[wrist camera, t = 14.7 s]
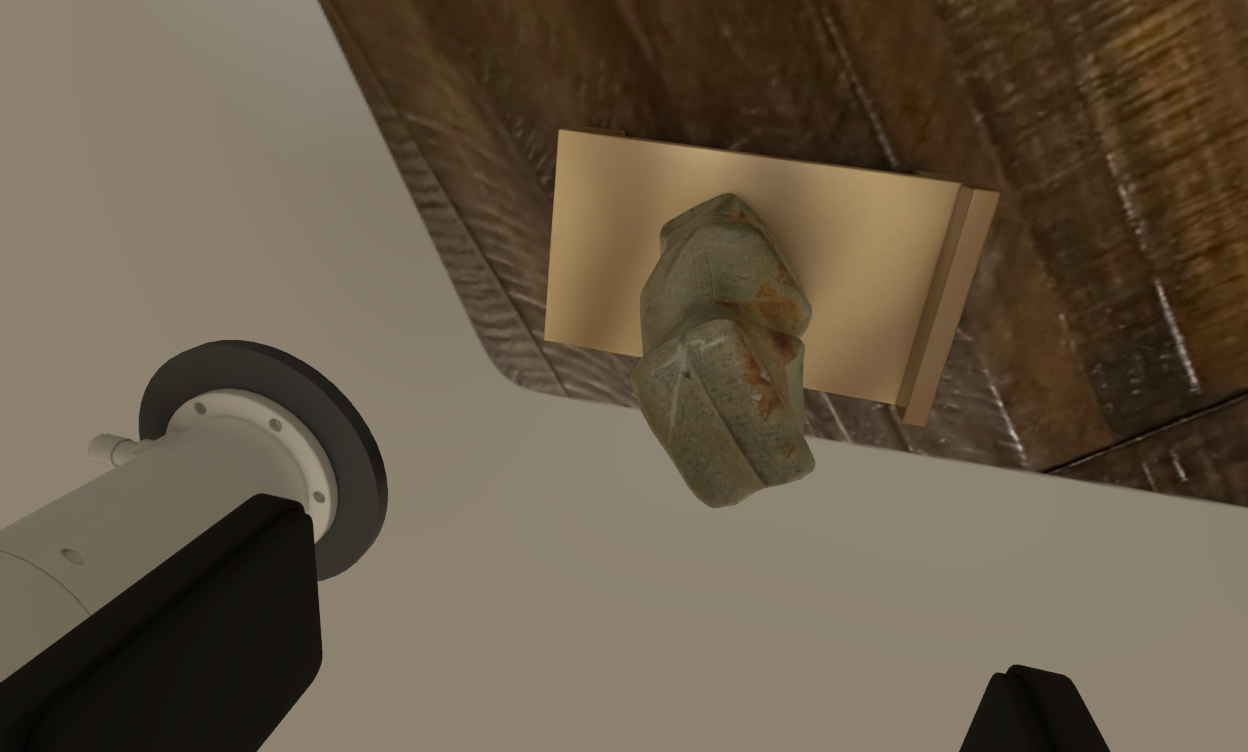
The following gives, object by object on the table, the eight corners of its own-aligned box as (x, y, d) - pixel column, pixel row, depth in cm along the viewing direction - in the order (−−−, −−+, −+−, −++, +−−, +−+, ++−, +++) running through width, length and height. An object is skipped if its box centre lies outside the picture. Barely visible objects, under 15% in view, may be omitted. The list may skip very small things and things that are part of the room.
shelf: (571, 312, 38) (529, 353, 32) (587, 125, 34) (544, 129, 28) (899, 370, 36) (925, 428, 29) (957, 175, 32) (1002, 192, 25)
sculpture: (710, 363, 32) (659, 549, 19) (646, 224, 31) (538, 317, 17) (830, 317, 30) (870, 488, 17) (768, 166, 29) (757, 219, 15)
